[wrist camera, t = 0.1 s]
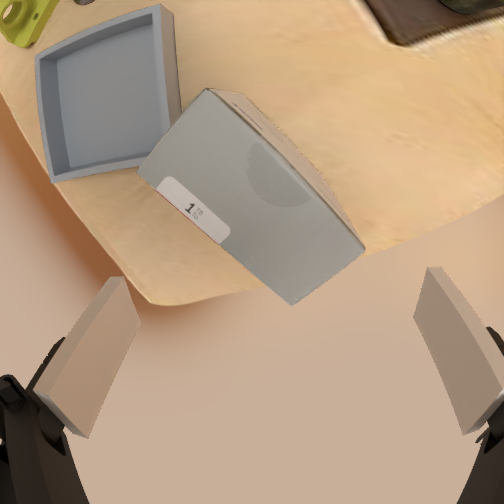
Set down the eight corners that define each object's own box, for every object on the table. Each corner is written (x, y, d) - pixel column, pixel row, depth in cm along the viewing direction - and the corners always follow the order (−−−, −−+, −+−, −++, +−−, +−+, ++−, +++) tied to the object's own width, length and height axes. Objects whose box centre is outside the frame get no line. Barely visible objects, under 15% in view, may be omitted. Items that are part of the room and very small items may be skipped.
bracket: (33, 49, 28) (-10, 49, 19) (16, 41, 26) (-24, 42, 18) (66, -10, 23) (26, -22, 14) (47, -15, 22) (9, -24, 13)
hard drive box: (199, 134, 35) (130, 169, 18) (241, 91, 32) (206, 78, 15) (283, 214, 40) (290, 310, 22) (326, 177, 37) (371, 250, 19)
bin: (55, 56, 29) (34, 55, 25) (173, 14, 27) (160, 3, 23) (70, 174, 38) (51, 183, 34) (186, 153, 36) (174, 161, 32)
